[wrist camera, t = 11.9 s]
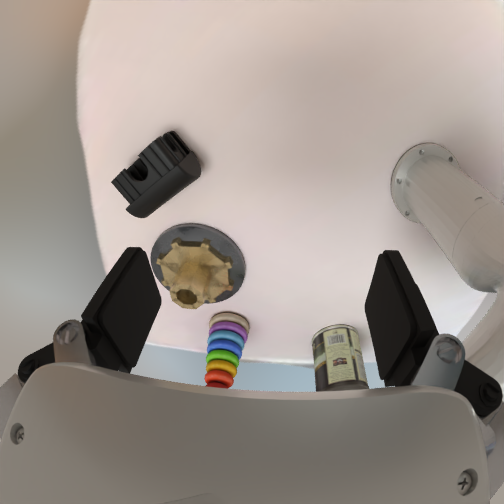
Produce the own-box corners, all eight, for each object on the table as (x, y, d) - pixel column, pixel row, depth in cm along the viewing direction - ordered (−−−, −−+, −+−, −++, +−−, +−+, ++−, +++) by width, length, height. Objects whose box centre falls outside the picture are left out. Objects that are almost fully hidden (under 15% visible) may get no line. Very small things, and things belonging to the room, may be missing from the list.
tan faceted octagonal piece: (232, 238, 41) (225, 266, 35) (235, 298, 48) (230, 327, 43) (154, 236, 41) (138, 261, 36) (168, 293, 49) (157, 320, 43)
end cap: (157, 203, 39) (139, 226, 34) (128, 169, 36) (105, 187, 31) (207, 166, 36) (194, 185, 30) (175, 127, 32) (156, 138, 27)
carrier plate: (244, 224, 40) (241, 238, 37) (245, 301, 50) (244, 316, 47) (144, 222, 41) (135, 235, 38) (163, 295, 51) (157, 309, 48)
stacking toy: (216, 305, 51) (197, 394, 36) (255, 318, 52) (248, 407, 37) (205, 328, 56) (187, 409, 40) (241, 339, 57) (231, 420, 42)
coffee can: (326, 357, 59) (331, 410, 48) (302, 337, 55) (305, 397, 44) (365, 339, 55) (376, 395, 44) (345, 317, 51) (357, 379, 39)
